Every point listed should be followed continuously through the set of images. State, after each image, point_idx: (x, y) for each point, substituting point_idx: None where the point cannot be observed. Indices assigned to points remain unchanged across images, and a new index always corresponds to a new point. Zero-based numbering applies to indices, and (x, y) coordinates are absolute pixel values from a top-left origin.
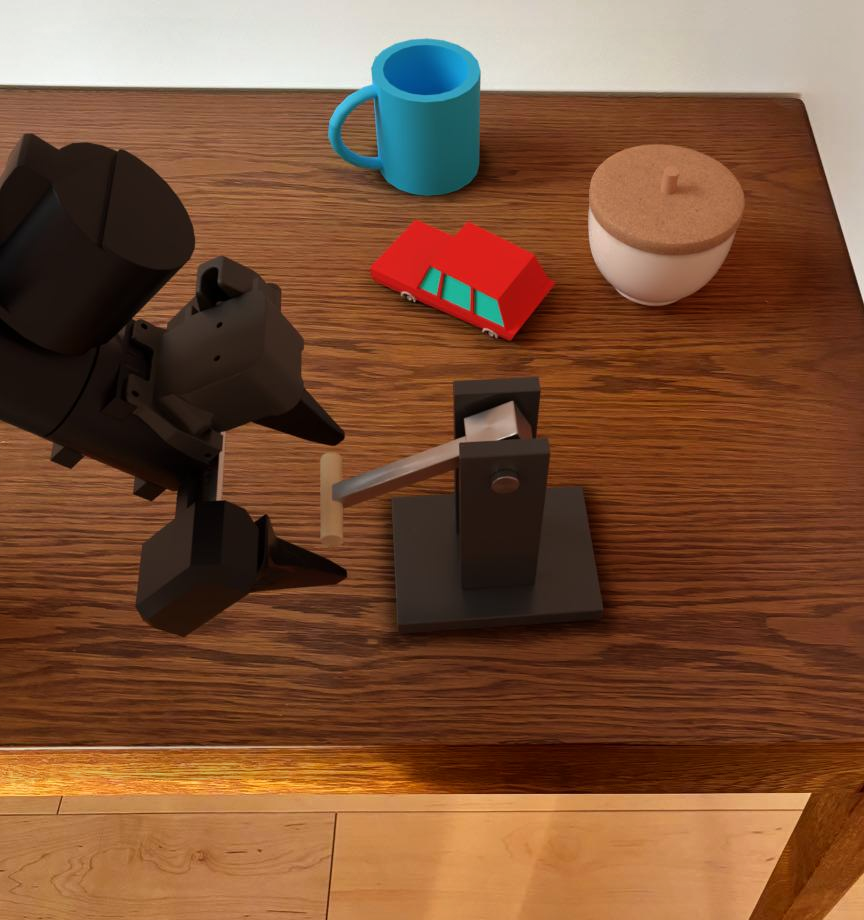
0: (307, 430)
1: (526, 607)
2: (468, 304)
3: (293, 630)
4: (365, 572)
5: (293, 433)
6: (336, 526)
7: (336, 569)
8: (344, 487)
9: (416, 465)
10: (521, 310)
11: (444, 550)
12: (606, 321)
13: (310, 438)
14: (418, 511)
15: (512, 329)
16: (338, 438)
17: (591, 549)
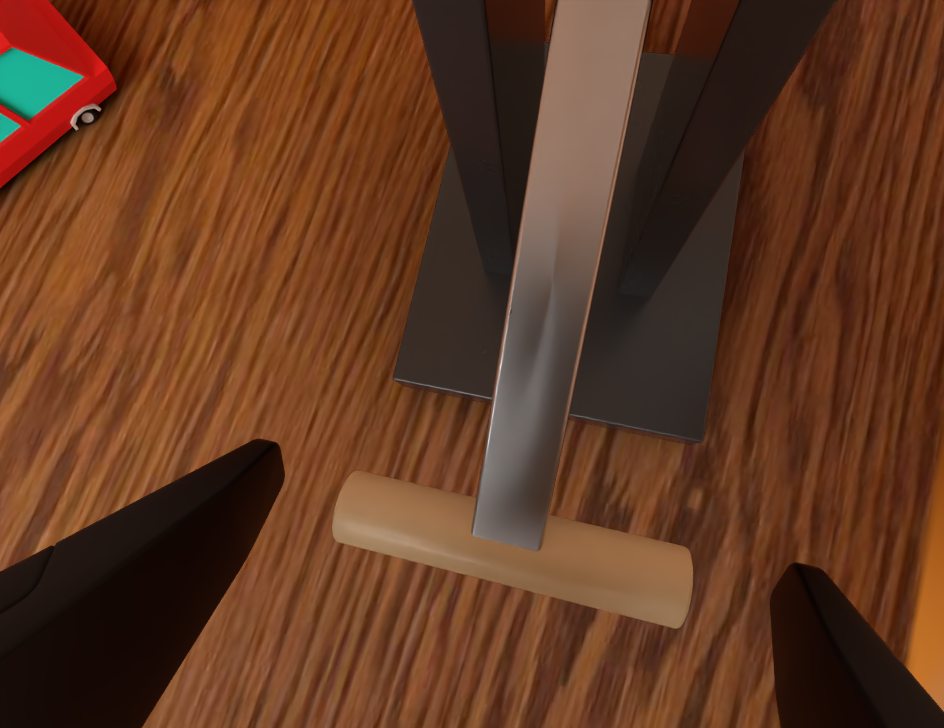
0: (217, 560)
1: (720, 190)
2: (2, 120)
3: (630, 654)
4: None
5: (210, 608)
6: (655, 564)
7: (841, 610)
8: (512, 497)
9: (589, 193)
10: (59, 40)
11: None
12: None
13: (243, 550)
14: (442, 335)
15: (94, 66)
16: (272, 462)
17: None
